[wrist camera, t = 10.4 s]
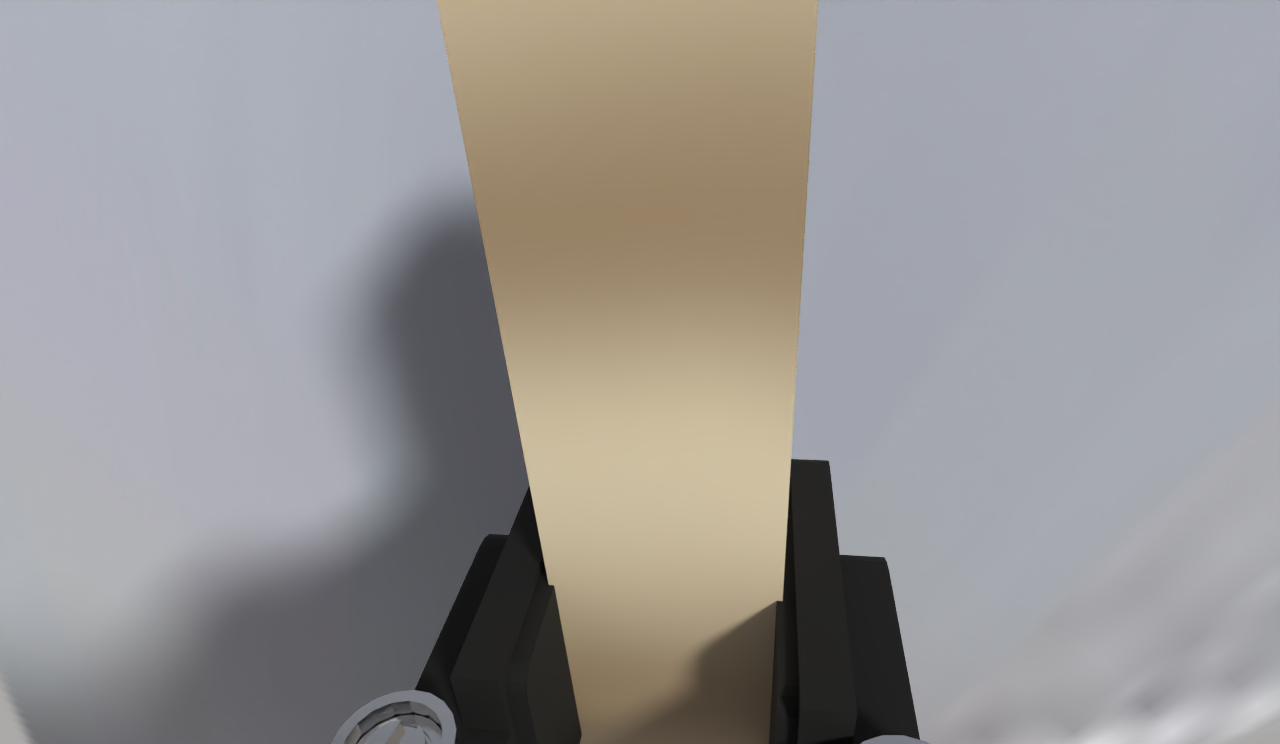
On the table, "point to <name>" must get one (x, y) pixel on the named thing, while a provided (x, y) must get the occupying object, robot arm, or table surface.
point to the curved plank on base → (649, 329)
